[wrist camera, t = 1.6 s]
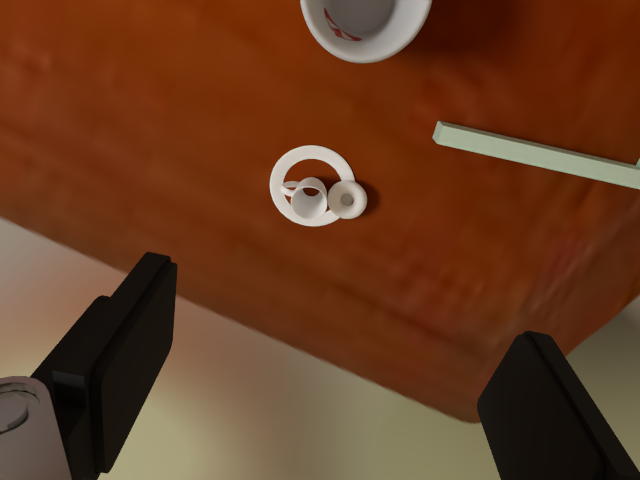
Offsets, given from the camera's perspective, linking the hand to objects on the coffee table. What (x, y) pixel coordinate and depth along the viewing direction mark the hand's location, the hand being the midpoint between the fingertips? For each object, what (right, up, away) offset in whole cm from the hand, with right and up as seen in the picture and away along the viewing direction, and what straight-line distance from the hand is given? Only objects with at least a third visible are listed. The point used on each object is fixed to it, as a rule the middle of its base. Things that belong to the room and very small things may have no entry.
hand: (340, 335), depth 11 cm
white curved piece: (-1, +5, +29) cm, 30 cm away
